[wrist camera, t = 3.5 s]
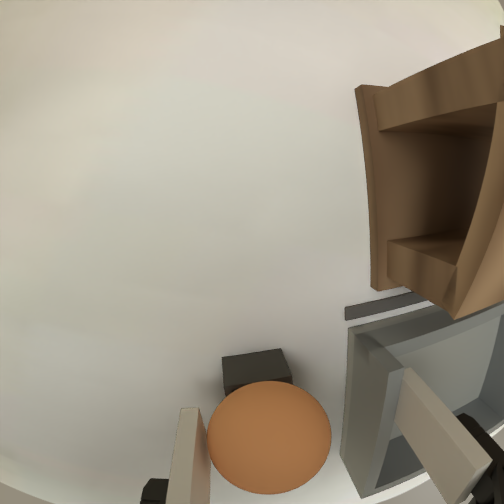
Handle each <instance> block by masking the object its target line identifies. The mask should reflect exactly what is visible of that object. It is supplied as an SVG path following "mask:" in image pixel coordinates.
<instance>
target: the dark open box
mask: <svg viewBox="0 0 504 504" xmlns="http://www.w3.org/2000/svg"><path fill="white" fill-rule="evenodd" d="M222 368H223V383H224V390H225V395H226V397H227V396H228V395H229V394H231V393H232V392H234V390H237V389H239V388H241V387H243V386H246V385H248V384H252V383H256V382H262V381H278V382H284V383H289V384H292V374H291V372H290V370H289V367H288V365H287V362H286V360H285V358H284V355H283V353H282V350H281V348H280V349H274V350H268V351H262V352H256V353H250V354H243V355H236V356H229V357H222Z"/></svg>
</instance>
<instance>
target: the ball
mask: <svg viewBox="0 0 504 504" xmlns="http://www.w3.org/2000/svg"><path fill="white" fill-rule="evenodd" d="M330 446H331V428H330V423H329V420H328V417H327V415H326V413H325V411H324V409H323V408H322V406H321V405H320V404H319V402H318V401H317V400H316V399H315V398H314V397H313V396H312V395H310V394H309V393H308V392H306V391H304V390H303V389H301V388H299V387H297V386H294V385H292V384H289V383H284V382H278V381H262V382H256V383H252V384H248V385H246V386H243V387H241V388H239V389H237V390H235V391H234V392H232V393H231V394H229V395H228V396H227V397H226V398H225V399H224V400H223V401H222V402H221V403H220V404H219V405H218V406H217V408H216V410H215V411H214V413H213V415H212V417H211V419H210V422H209V425H208V430H207V448H208V452H209V455H210V458H211V460H212V462H213V464H214V466H215V468H216V469H217V470H218V471H219V473H220V474H221V475H222V476H223V477H224V478H225V479H226V480H227V481H229V482H230V483H231V484H233V485H235V486H237V487H238V488H240V489H243V490H246V491H249V492H252V493H257V494H279V493H284V492H288V491H291V490H293V489H296V488H298V487H300V486H302V485H303V484H305V483H306V482H308V481H309V480H310V479H311V478H313V477H314V476H315V475H316V474H317V473H318V471H319V470H320V469H321V467H322V466H323V464H324V463H325V461H326V459H327V456H328V454H329V450H330Z"/></svg>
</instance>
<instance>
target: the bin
mask: <svg viewBox="0 0 504 504" xmlns="http://www.w3.org/2000/svg"><path fill="white" fill-rule="evenodd" d="M410 367H411V368H412V369H413V370H414V371H415V372H416V373H417V374H418V376H419V377H420V378H421V379H422V380H423V381H424V382H425V383H426V384H427V385H428V387H429V388H430V389H431V390H432V391H433V392H434V393H435V394H436V395H437V396H438V398H439V399H440V400H441V401H442V402H443V403H444V404H445V405H446V407H447V408H448V409H449V410H450V411H451V412H452V413H453V414H454V416H455V417H456V416H458V415H460V414H462V413H465V414H467V415H469V416H471V417H473V418H474V419H475V420H476V421H477V422H478V423H479V425H480V427H482V428H483V429H484V430H485V432H487V433H488V434H490V433H492V432H493V431H495V430H496V429H497V428H499V427H500V426H502V425H503V424H504V300H502V301H500V302H498V303H495V304H493V305H491V306H488V307H486V308H484V309H481V310H479V311H476V312H474V313H471V314H469V315H466V316H463V317H461V318H458V319H456V320H453V318H452V317H451V316H450V314H449V313H448V312H447V311H446V310H444V309H442V308H441V307H439V306H437V305H433V306H430V307H427V308H423V309H420V310H416V311H413V312H409V313H406V314H402V315H398V316H395V317H391V318H387V319H383V320H379V321H375V322H371V323H367V324H363V325H359V326H355V327H350V328H348V357H347V378H346V394H345V407H344V419H343V430H342V439H341V448H340V456H341V458H342V460H343V462H344V464H345V466H346V469H347V471H348V473H349V475H350V477H351V479H352V481H353V483H354V485H355V487H356V489H357V492H358V494H359V496H360V498H361V499H362V498H365V497H368V496H371V495H373V494H376V493H379V492H381V491H384V490H386V489H389V488H391V487H394V486H396V485H398V484H401V483H403V482H405V481H407V480H410V479H412V478H414V477H416V476H418V475H420V474H422V473H424V472H426V470H425V468H424V467H423V465H422V463H421V462H420V460H419V459H418V457H417V456H416V454H415V452H414V451H413V449H412V448H411V446H410V445H409V443H408V442H407V440H406V439H405V437H404V435H403V434H402V432H401V431H400V429H399V428H398V426H397V425H396V423H395V422H394V418H395V414H396V409H397V404H398V400H399V394H400V389H401V384H402V378H403V375H404V369H407V368H410Z"/></svg>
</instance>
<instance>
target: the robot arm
mask: <svg viewBox="0 0 504 504" xmlns="http://www.w3.org/2000/svg"><path fill="white" fill-rule="evenodd" d="M394 422H395V423H396V425H397V426H398V428H399V429H400V431H401V432H402V434H403V435H404V437H405V439H406V440H407V442H408V443H409V445H410V446H411V448H412V449H413V451H414V452H415V454H416V456H417V457H418V459H419V460H420V462H421V463H422V465H423V467H424V468H425V470H426V471H427V473H428V474H429V476H430V478H431V479H432V481H433V482H434V484H435V486H436V487H437V489H438V490H439V492H440V494H441V495H442V497H443V498H444V500H445V502H446V503H447V504H459V503H461V502H463V501H465V500H466V498H467V497H468V496H469V494H470V493H472V495H473V496H474V497H473V498H472V500H471V501H470V502H469V504H504V451H503V450H502V449H501V448H500V447H499V445H498V444H497V443H496V442H495V441H494V440H493V439H492V438H491V437H490V435H489V434H488V433H487V432H485V430H484V429H483V428H482V427H480V425H479V423H478V422H477V421H476V420H475V419H474V418H473V417H471V416H469V415H467V414H465V413H462V414H460V415H458V416H456V417H455V416H454V414H453V413H452V412H451V411H450V410H449V409H448V408H447V407H446V405H445V404H444V403H443V402H442V401H441V400H440V399H439V398H438V396H437V395H436V394H435V393H434V392H433V391H432V390H431V389H430V388H429V387H428V385H427V384H426V383H425V382H424V381H423V380H422V379H421V378H420V377H419V376H418V374H417V373H416V372H415V371H414V370H413V369H412V368H411V367H410V368H407V369H404V375H403V378H402V384H401V389H400V394H399V400H398V404H397V409H396V414H395V418H394ZM210 468H211V458H210V455H209V452H208V448H207V433H206V430H205V427H204V424H203V420H202V417H201V414H200V410H199V408H183V409H181V412H180V417H179V423H178V429H177V434H176V440H175V446H174V452H173V458H172V464H171V471H170V477H169V479H155V478H151V479H150V480H149V481H148V482H147V484H146V485H145V486H144V488H143V492H142V496H141V501H140V504H210Z"/></svg>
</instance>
